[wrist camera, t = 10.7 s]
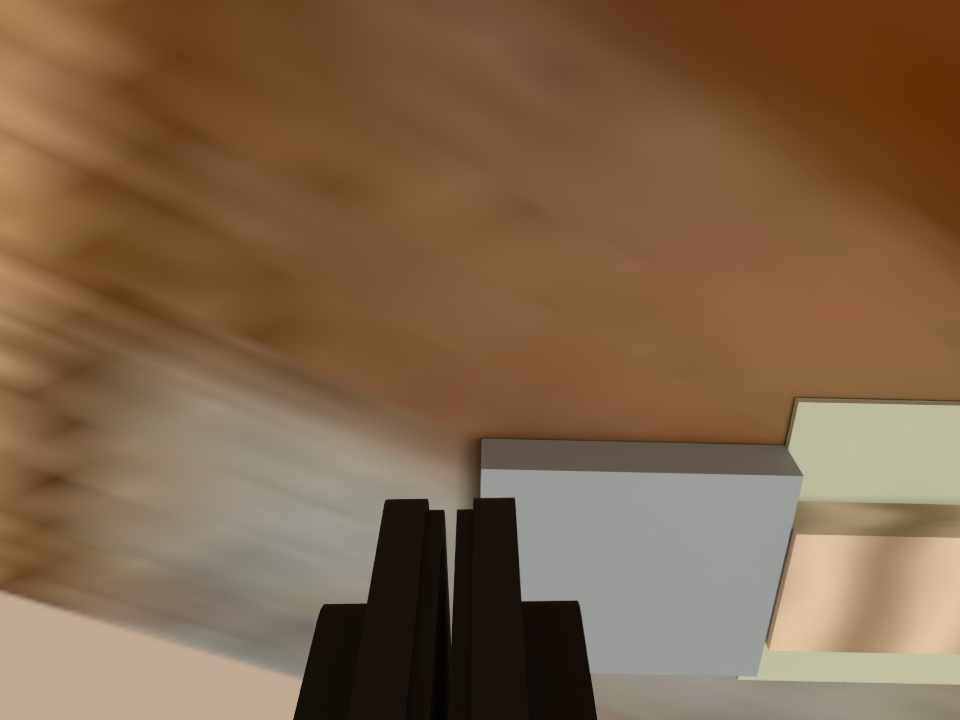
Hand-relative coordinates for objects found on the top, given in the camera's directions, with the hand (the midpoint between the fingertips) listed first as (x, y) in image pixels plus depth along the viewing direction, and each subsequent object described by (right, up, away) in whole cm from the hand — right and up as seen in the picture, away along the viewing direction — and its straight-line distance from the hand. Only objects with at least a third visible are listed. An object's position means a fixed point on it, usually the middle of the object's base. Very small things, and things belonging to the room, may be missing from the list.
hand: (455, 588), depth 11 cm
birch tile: (+19, -7, +30) cm, 36 cm away
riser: (+7, -6, +30) cm, 32 cm away
